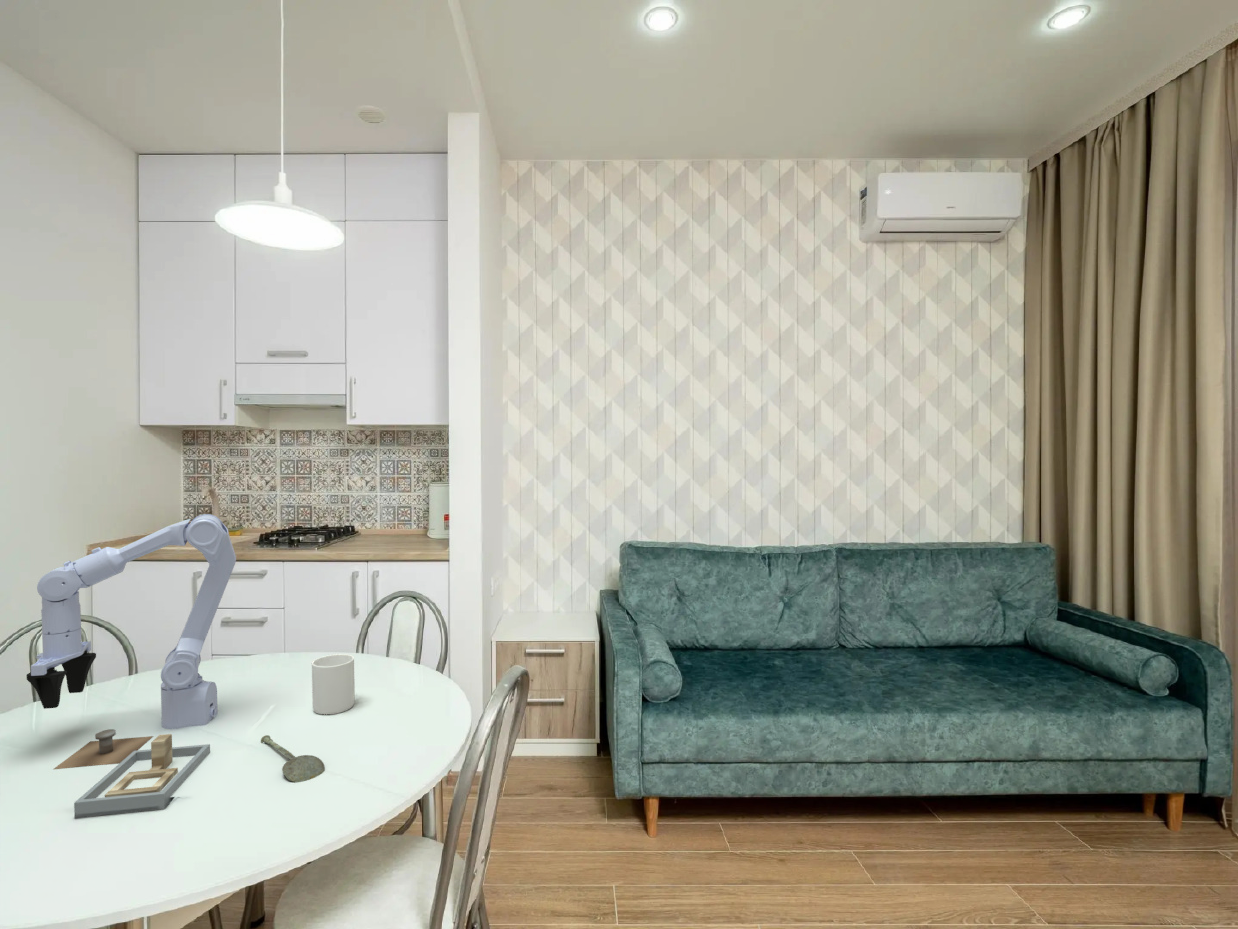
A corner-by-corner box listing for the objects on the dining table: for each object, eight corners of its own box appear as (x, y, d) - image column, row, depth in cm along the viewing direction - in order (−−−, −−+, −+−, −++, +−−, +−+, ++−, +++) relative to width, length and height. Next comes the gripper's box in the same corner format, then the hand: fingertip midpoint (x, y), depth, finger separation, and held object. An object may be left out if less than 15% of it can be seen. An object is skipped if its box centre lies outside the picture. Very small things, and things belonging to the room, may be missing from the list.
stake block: (153, 741, 128) (153, 718, 128) (123, 768, 117) (122, 743, 117) (90, 746, 126) (89, 723, 125) (53, 774, 115) (52, 749, 115)
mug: (349, 692, 153) (349, 647, 152) (357, 710, 142) (356, 662, 142) (309, 699, 148) (308, 653, 148) (314, 719, 138) (313, 669, 138)
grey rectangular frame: (210, 757, 121) (209, 744, 121) (164, 809, 104) (163, 794, 104) (134, 764, 119) (134, 750, 119) (74, 818, 101) (74, 802, 101)
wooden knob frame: (156, 797, 106) (155, 764, 106) (104, 802, 105) (103, 769, 105) (189, 762, 118) (188, 732, 118) (143, 766, 117) (142, 736, 116)
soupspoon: (291, 793, 111) (330, 780, 115) (292, 774, 111) (331, 762, 115) (247, 748, 125) (283, 738, 130) (248, 731, 125) (284, 721, 130)
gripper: (62, 621, 131) (64, 687, 131) (10, 642, 117) (12, 717, 117) (101, 619, 132) (103, 684, 133) (55, 640, 118) (57, 713, 118)
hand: (64, 699), depth 125 cm, fingers open, 7 cm apart
